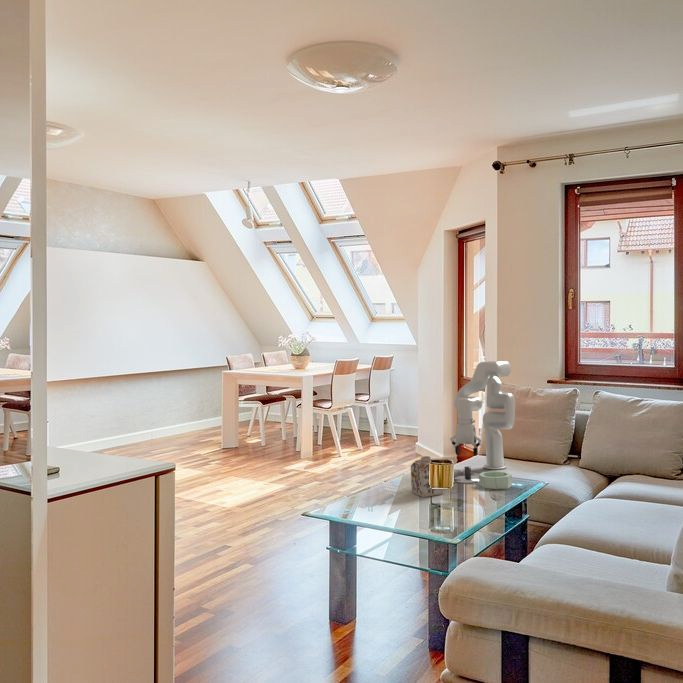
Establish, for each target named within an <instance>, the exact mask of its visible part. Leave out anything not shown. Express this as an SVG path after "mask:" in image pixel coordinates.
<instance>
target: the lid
mask: <svg viewBox="0 0 683 683" xmlns="http://www.w3.org/2000/svg"><path fill="white" fill-rule="evenodd" d="M463 468H464V475H465V476H464V475H457V476H455V479H454V481H455V482H457V483H456V484H460V483H478V482H479V475H472V470H471V469H472V467H471V466H464V467H463Z"/></svg>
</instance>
